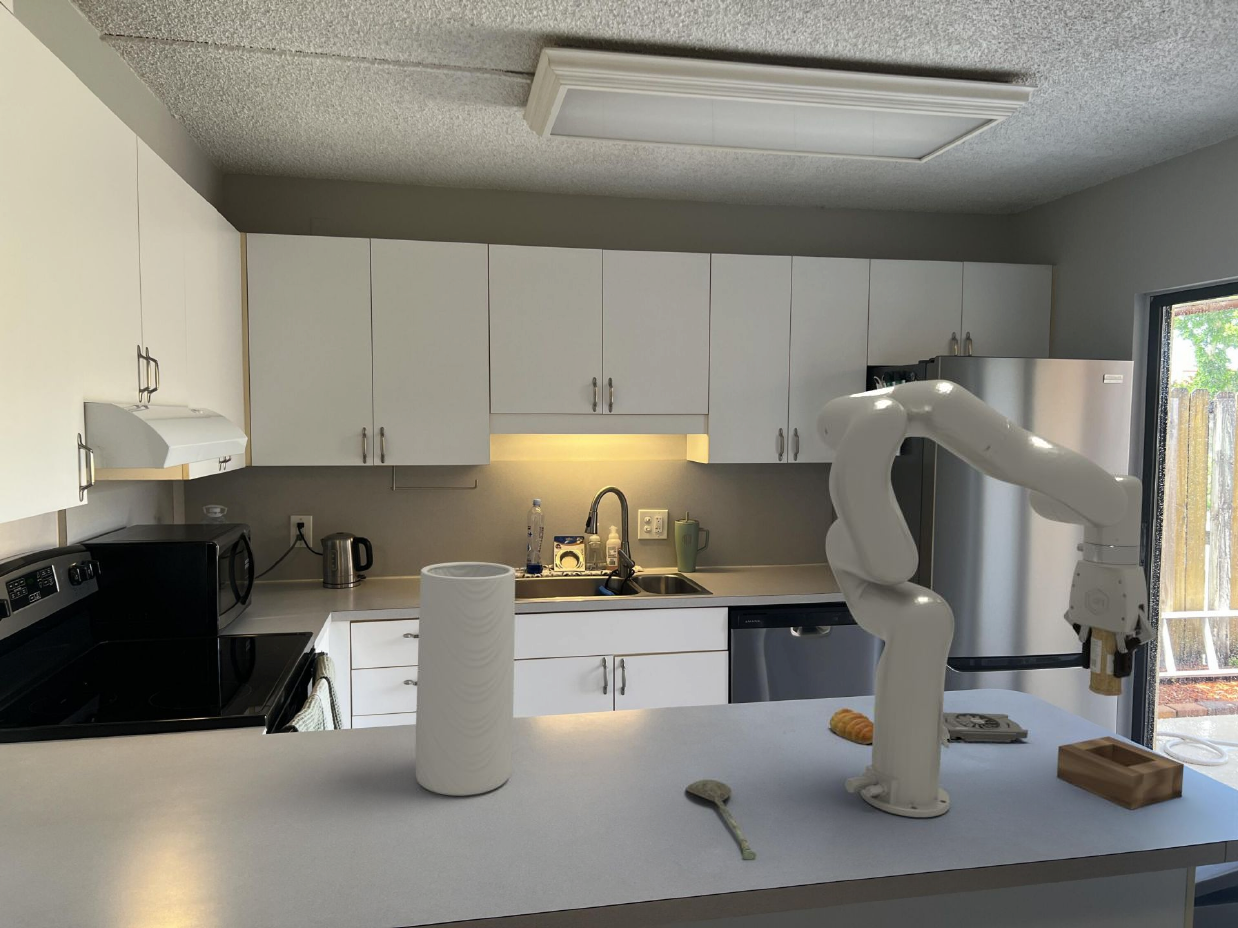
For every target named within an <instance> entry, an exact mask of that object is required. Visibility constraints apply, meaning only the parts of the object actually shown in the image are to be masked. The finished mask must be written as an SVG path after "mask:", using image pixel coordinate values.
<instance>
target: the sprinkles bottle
mask: <svg viewBox="0 0 1238 928" xmlns="http://www.w3.org/2000/svg"><path fill="white" fill-rule="evenodd" d="M1116 651H1118V645H1117V639H1116V633H1113V632H1109V631H1105V630H1101V629H1096V628H1092V636H1091V655H1090V669H1089V670H1090V678H1089V685H1088V689H1089V691H1091V692H1093V693H1095V694H1097V695H1101V696H1106V697H1110V696H1111V697H1112V696H1113V697H1115V696H1117V697H1118V696H1120V695H1122V694H1123V690H1122V684H1123V683H1122V680H1123V678H1115V677H1114V676H1113V671H1114V653H1115V652H1116Z"/></svg>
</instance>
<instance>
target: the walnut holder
mask: <svg viewBox="0 0 1238 928" xmlns="http://www.w3.org/2000/svg"><path fill="white" fill-rule="evenodd" d="M1056 765H1057V770H1056V778H1058V779H1059V780H1062V781H1065V782H1067V783H1068V784H1069V783H1070V784H1071V785H1074V786H1076V787H1078V788H1081V789H1083V790H1085V791H1087V792H1090V793H1092V794H1094V795H1096V796H1098V797H1101V798H1102V799H1104V800H1105V799H1106V800H1107V801H1110V802H1113V803H1115V804H1117V805H1118V806H1121V807H1124V808H1126V809H1128V810H1130V811H1131V810H1135V809H1139V808H1141V807H1142V808H1143V807H1146V806H1151V805H1154V804H1158V803H1162V802H1165V801H1169V800H1174V799H1177V798H1181V797H1182V796H1183V795H1182V794H1183V782H1184V781H1183V780H1184V767H1185V763H1182V762H1180V761H1176V760H1173V759H1171V758H1168V757H1166V756H1163V755H1160V754H1158V753H1154V752H1152V751H1150V750H1146V749H1145V748H1144V749H1143V748H1141V747H1139V746H1136V745H1133V744H1132V743H1131V744H1130V743H1128V742H1125V741H1123V740H1119V739H1118V738H1115V737H1112V736H1104V737H1098V738H1094V739H1093V738H1092V739H1089V740H1083V741H1077V742H1074V743H1073V742H1071V743H1068V744H1062V745H1059V746H1058V749H1057V764H1056Z"/></svg>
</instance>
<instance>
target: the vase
mask: <svg viewBox="0 0 1238 928" xmlns="http://www.w3.org/2000/svg"><path fill="white" fill-rule="evenodd" d="M419 582H420V584H419V585H420V586H419V587H420V588H419V613H418V615H419V619H418V647H417V648H418V649H417V678H416V679H417V681H416V709H415V710H416V711H415V713H416V717H415V719H416V720H415V746H414V747H415V751H414V752H415V777H416V781H417V782H418V784H419V785H420V786H422V787H423V788H425V789H426V790H428V791H430V792H432V793H436V794H439V795H444V796H445V795H446V796H459V797H460V796H461V797H462V796H463V797H464V796H472V795H479V794H484V793H487V792H490V791H492V790H494V789H497V788H500V786H503V784H504V783H505V782H507V781H508V779H509V778H510V777H511V773H512V765H513V748H514V747H513V746H514V745H513V744H514V743H513V742H514V694H515V693H514V692H515V691H514V686H515V684H514V683H515V681H514V680H515V625H516V624H515V618H516V615H515V613H516V611H515V610H516V607H515V605H516V570H515V568H514V567H512V566H509V565H507V564H506V565H505V564H501V563H493V562H483V561H481V562H480V561H458V562H457V561H455V562H444V563H443V562H442V563H436V564H429V565H427V566H424V567H422V568H421V570H420V581H419Z"/></svg>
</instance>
